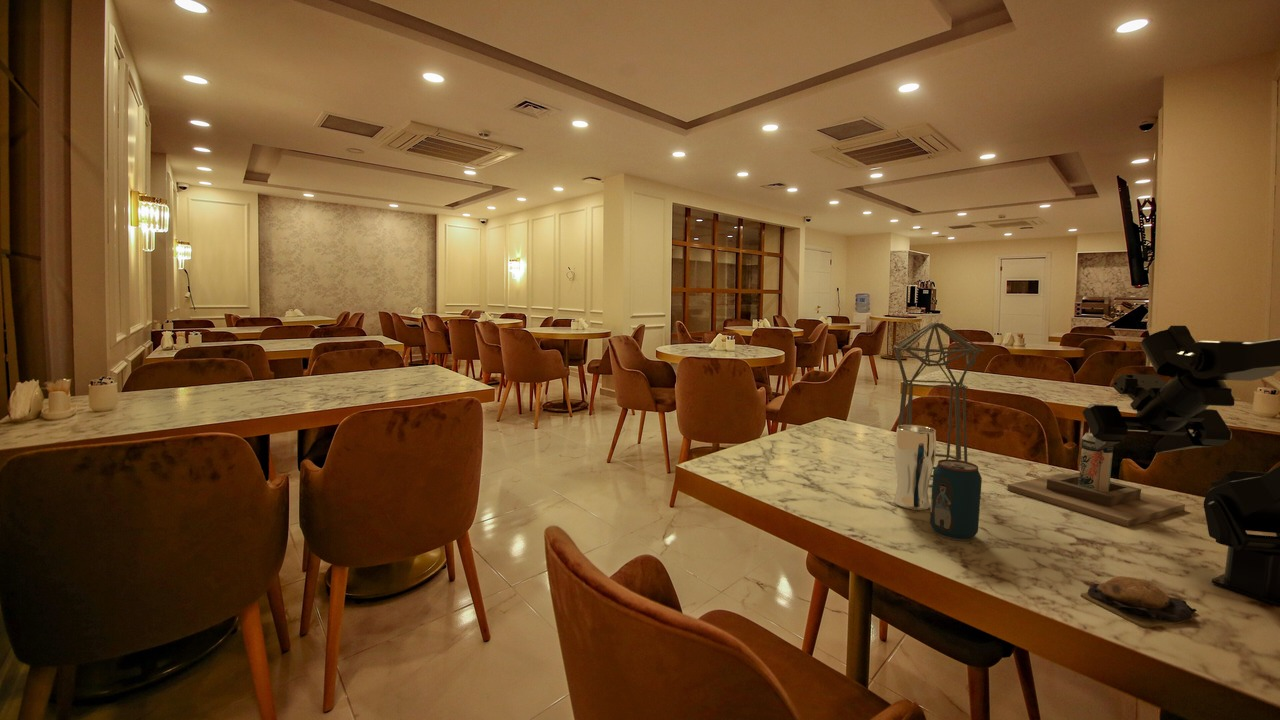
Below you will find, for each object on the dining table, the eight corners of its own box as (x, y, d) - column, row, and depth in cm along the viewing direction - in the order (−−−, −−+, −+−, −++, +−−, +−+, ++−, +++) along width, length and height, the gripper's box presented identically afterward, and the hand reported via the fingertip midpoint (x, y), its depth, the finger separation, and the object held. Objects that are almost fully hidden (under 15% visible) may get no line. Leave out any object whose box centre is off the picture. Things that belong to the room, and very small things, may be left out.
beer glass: (883, 500, 102) (887, 425, 100) (909, 496, 104) (914, 423, 103) (913, 513, 95) (918, 433, 94) (940, 508, 98) (945, 431, 96)
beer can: (1070, 489, 105) (1076, 431, 104) (1095, 490, 105) (1101, 432, 104) (1089, 497, 101) (1095, 437, 99) (1115, 498, 100) (1121, 438, 99)
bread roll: (1146, 635, 61) (1149, 606, 60) (1071, 596, 69) (1074, 570, 69) (1210, 622, 63) (1214, 594, 63) (1131, 586, 71) (1133, 561, 71)
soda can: (976, 530, 88) (981, 462, 87) (978, 546, 82) (984, 473, 81) (929, 521, 92) (934, 455, 90) (928, 536, 86) (933, 466, 84)
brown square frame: (1127, 526, 90) (1129, 509, 90) (1007, 489, 108) (1008, 475, 108) (1184, 510, 98) (1186, 493, 98) (1063, 478, 116) (1064, 464, 116)
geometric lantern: (892, 487, 109) (898, 322, 107) (887, 468, 124) (893, 322, 121) (979, 497, 103) (988, 322, 101) (964, 476, 118) (971, 322, 115)
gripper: (1224, 362, 85) (1165, 414, 97) (1094, 358, 89) (1052, 410, 101) (1265, 418, 78) (1196, 467, 90) (1121, 412, 82) (1073, 460, 94)
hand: (1126, 448), depth 94 cm, fingers open, 9 cm apart
